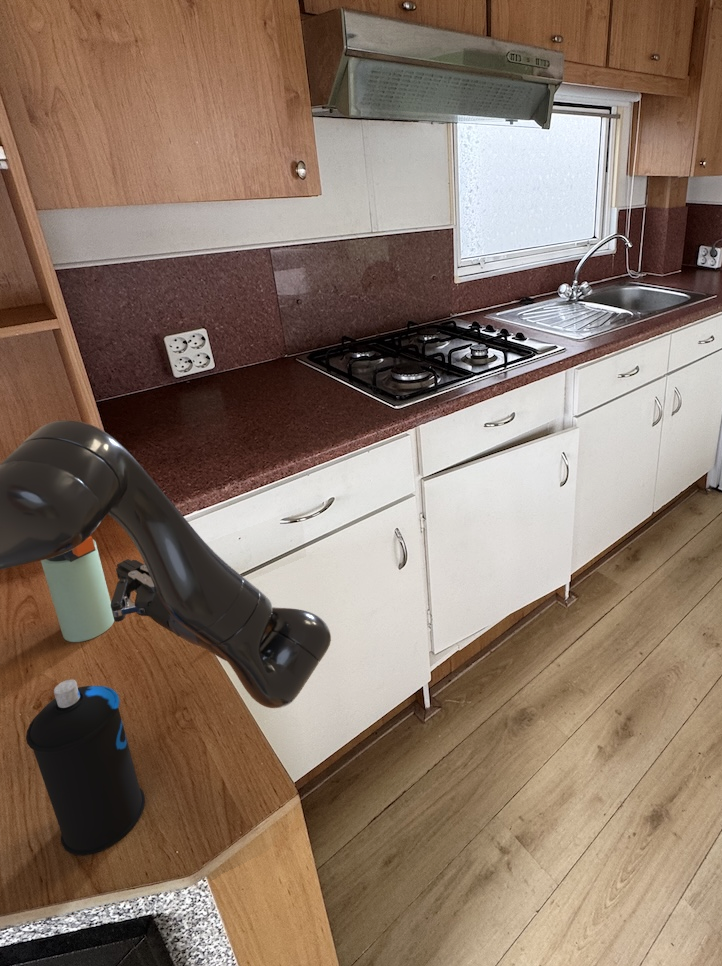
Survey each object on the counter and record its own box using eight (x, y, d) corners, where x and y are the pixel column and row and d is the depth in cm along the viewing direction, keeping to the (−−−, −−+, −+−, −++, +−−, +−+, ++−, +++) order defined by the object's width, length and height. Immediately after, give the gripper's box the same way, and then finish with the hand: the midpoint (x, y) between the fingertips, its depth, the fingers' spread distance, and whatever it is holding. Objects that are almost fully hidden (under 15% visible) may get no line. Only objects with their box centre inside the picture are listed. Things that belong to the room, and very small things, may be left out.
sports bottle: (53, 631, 95) (19, 518, 88) (100, 606, 101) (71, 498, 94) (80, 650, 91) (47, 534, 84) (127, 623, 97) (100, 511, 90)
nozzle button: (72, 553, 88) (69, 541, 87) (89, 545, 90) (86, 533, 89) (78, 557, 87) (75, 544, 87) (95, 549, 89) (92, 536, 89)
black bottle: (85, 872, 62) (40, 734, 55) (46, 831, 66) (-1, 698, 59) (160, 805, 69) (127, 675, 62) (120, 772, 73) (85, 646, 66)
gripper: (238, 558, 80) (162, 523, 88) (143, 615, 69) (66, 569, 77) (245, 602, 82) (171, 564, 90) (154, 664, 71) (78, 615, 79)
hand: (122, 567), depth 83 cm, fingers closed
